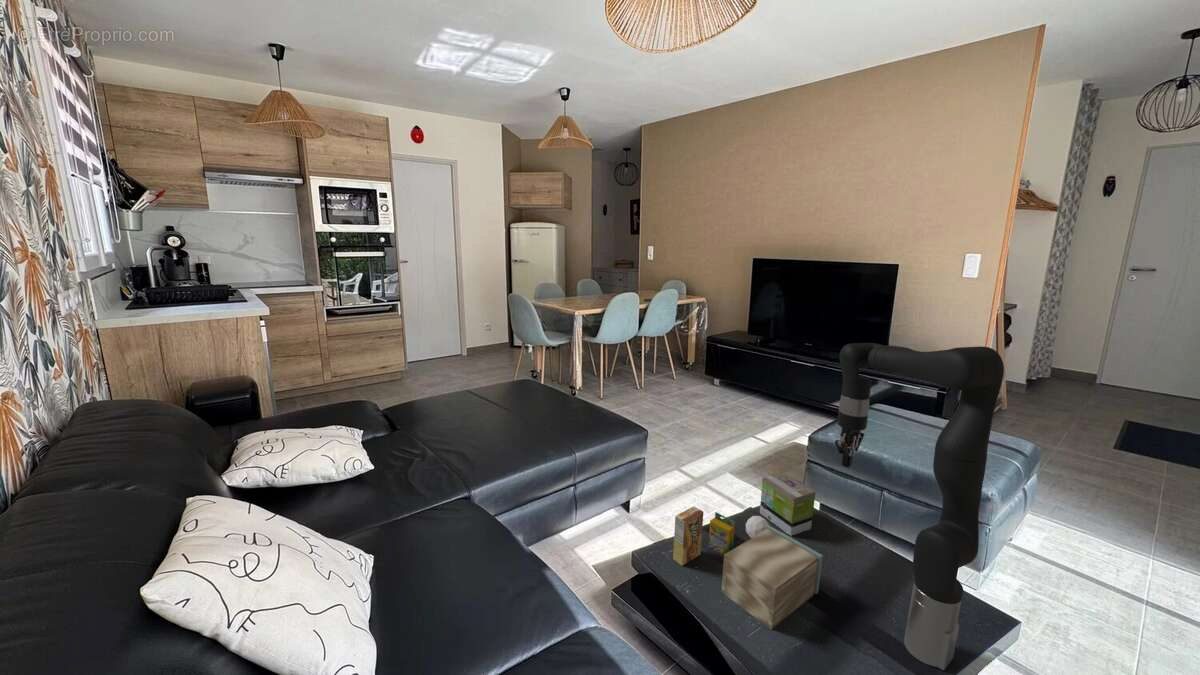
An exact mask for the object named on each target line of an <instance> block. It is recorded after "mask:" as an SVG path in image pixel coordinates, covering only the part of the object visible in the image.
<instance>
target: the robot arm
mask: <svg viewBox="0 0 1200 675" xmlns="http://www.w3.org/2000/svg"><path fill="white" fill-rule="evenodd" d="M838 359H839V364H840V369H841V376H842V389H841V394H840V399H839V407H838V413H837V414H838V415H837V425H838V426H839V427H840V428H841V431H840V436H839V437H840V439H835V441H834V445H835V446H836V448H837V451H838V453H839V454H841V455H842V457H841V458H842V459H841V466H842V467H844V468H847V469H848V468H850V467H852V464H853V459H854V458H853V456H854V455H855V453H856V452H857V451H858V450H859V449H860V445H861V443H862V441H863V439H864V437H865V433H864V432H861V431H864V430H866V429H867V425H868V419H869V410H870V396H871V389H872V387H871V386H872V380H871V378H870V377H868V376H865V375H862V374H860V371H859V370H860V369H869V368H870V369H874V370H876V371H879V372H882V373H889V374H894V375H895V374H896V375H902V376H903V375H904V376H909V377H914V378H918V379H922V380H925V381H928V382H931V383H933V384H935V385H939V386H941V387H944V388H947V389H952V390H955V391H961V392H960V398H959V402H958V405H957V408H956V409H955V411H954V413H953V415H952V416H951V418H950V419H949V420H948V422H947V423H946V424H945V426H944V427H943V428H942V430H941V432H940V433H939V434H938V437H937V438H936V439H937V440H936V442H935V447H934V455H933V463H932V468H933V474H934V478H935V480H936V483H937V485H938V488H939V490H940V492H941V496H942V507H941V514H940V517H939V521H938V523H937V524H935V525H932V526H930V527H927V528H924V529H922V530H920V531H919V532H918V534H917V536H916V538H915V542H914V546H913V547H914V549H913V558H912V571H913V572H912V574H914V575H913V576H914V581H913V586H912V591H911V599H910V603H909V608H908V609H909V610H908V615H907V620H906V621H907V622H906V625H905V626H906V627H905V632H904V639H903V642H904V646H905V648H906V650H907V651H908V652H909V654H910V655H912V657H914V658H915V659H917V660H918V661H919V662H921V663H923V664H925V665H928V666H930V667H935V668H938V669H940V670H942V671H946V669H947V667H948V665H950V664H951V661H952V660H953V659H954V654H955V651H956V647H957V646H956V645H957V640H958V636H959V629H960V623H958V620H959V614H960V610H961V606H962V600H963V596H964V588H963V587H964V586H963V585H962V583H961V582H960V581H959V579H957V575H958V574H957V573H958V570H959V569H960V568H962V567H964V566H966V565H969V564H971V563H973V561H974V560H976V558H977V556H978V553H979V546H980V545H979V544H980V543H979V541H980V540H979V539H980V538H979V532H980V531H979V528H980V527H979V513H980V505H981V499H982V492H983V486H984V484H983V483H984V479H985V473H986V468H987V467H986V466H987V460H988V448H989V447H988V446H989V441H990V435H991V430H992V423H993V418H994V417H993V416H994V412H995V409H996V405H997V402H998V399H999V395H1000V391H1001V387H1002V385H1003V380H1004V376H1005V375H1004V374H1005V367H1004V361H1003V358H1002V357H1001V354H999V352H998V351H997V350H995V349H993V348H991V347H989V346H981V345H980V346H964V347H963V346H962V347H960V346H959V347H953V348H950V349H942V350H934V351H933V350H931V351H918V350H915V349H912V348H910V347H905V346H897V345H886V344H885V345H884V344H881V343H874V342H862V343H861V342H860V343H859V342H858V343H848V344H845V345H844V346H842V348H841V349H840V352H839V358H838Z"/></svg>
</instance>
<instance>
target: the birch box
mask: <svg viewBox="0 0 1200 675" xmlns="http://www.w3.org/2000/svg"><path fill="white" fill-rule="evenodd" d="M817 562H818V557H816V556H814V555H812V554H811V553H809V552H807V551H805V550H804V549H802V548H800V547H798V546H797V545H795V544H793V543H791V542H789V541H788V540H786V539H784V538H782V537H781V536H779V535H777V534H775V533H774V532H772V531H770V530H768V529H766V530H765V531H763V532H761V533H760V534H758V535H756V536H755V537H753V538H751V537H750V539H748V540H746V541H744V542H742V544H740V545H738V546H736V547H733V550H731V551H729V552H728V553H726V554H724V555H723V564H722V580H721V593H722V594H724V595H725V596H726V597H728V598H729V599H730V600H732V601H733V602H734V603H736V605H738V606H739V607H741V608H742V609H743V610H745V611H746V612H747V613H749V615H751V616H753V617H754V618H755V619H757V620H758V621H759V622H761V623H762V624H763V625H765V626H766V627H767V628H769V629H770V630H773V628H775V627H777V626H778V624H780V623H781V622H782V621H784V620H785V619H786V618H787V617H789V616H790V615H791V614H792V613H793V612H795V611H796V610H798V608H800V607H801V606H802V605H803V604H805V603H806V602H808V601H809V600H810V599H811V598H813V597H814V596H815V593H814V588H815V579H816V571H817Z"/></svg>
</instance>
